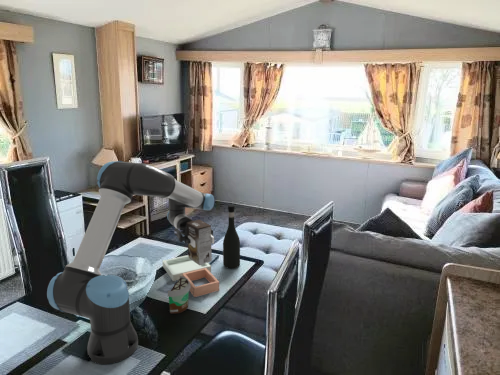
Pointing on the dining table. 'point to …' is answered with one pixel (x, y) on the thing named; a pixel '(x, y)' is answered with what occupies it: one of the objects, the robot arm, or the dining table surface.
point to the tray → (182, 266)
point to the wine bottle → (231, 243)
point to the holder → (205, 288)
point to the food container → (179, 296)
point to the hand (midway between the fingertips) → (204, 242)
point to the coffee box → (199, 242)
